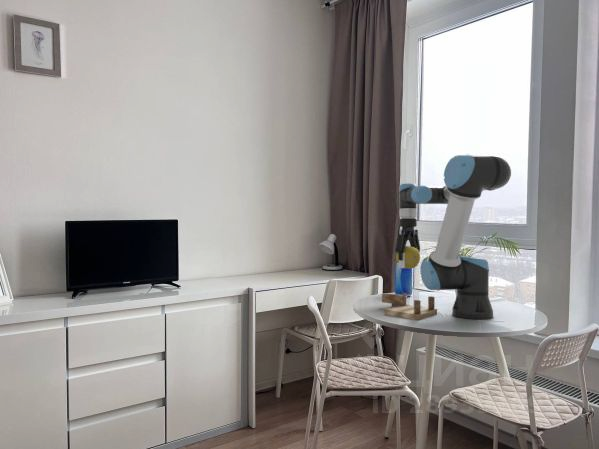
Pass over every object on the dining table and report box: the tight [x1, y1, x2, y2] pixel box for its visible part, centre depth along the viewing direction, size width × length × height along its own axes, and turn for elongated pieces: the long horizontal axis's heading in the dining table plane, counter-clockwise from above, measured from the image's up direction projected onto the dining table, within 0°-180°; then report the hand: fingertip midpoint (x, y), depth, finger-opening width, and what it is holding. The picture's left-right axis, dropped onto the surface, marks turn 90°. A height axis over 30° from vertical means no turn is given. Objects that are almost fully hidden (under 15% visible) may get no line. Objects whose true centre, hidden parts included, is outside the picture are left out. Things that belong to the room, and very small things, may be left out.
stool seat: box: [384, 295, 438, 321], centre depth 185 cm, size 15×15×7 cm
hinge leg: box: [381, 292, 407, 305], centre depth 196 cm, size 11×2×5 cm, turn 50°
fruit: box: [395, 245, 421, 269], centre depth 208 cm, size 10×11×10 cm
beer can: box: [394, 262, 413, 297], centre depth 229 cm, size 8×8×16 cm
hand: (408, 267), depth 208 cm, fingers closed on fruit, 11 cm apart
